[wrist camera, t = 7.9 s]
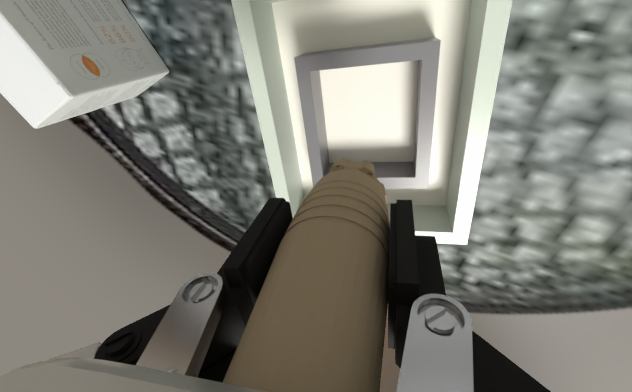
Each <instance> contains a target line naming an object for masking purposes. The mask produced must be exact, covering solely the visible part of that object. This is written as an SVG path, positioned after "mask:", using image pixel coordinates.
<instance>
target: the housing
mask: <svg viewBox="0 0 632 392" xmlns="http://www.w3.org/2000/svg"><path fill="white" fill-rule="evenodd" d="M231 1H232V6H233V10H234V14H235V19H236V23H237V28H238V32H239V36H240V41H241V45H242V50H243V54H244V58H245V63H246V67H247V72H248V76H249V80H250V85H251V89H252V94H253V98H254V102H255V107H256V111H257V115H258V120H259V124H260V129H261V133H262V137H263V142H264V146H265V151H266V155H267V159H268V164H269V168H270V173H271V177H272V181H273V186H274V190H275V195H276V198H284V199H285V200H286V201H288V202H289V203H290V206H291V211H292V216H293V217H294V216H295V214H296V212H297V210H298V209H299V207H300V206H301V204H302V202H303V201H304V199H305V198H306V196H307V195H308V194H309V192H310V191H311V190H312V188H313V187H314V186H315V185H316V184H317V182H318V181H319V180H320V179H321V178H322V177H324V176H325V175H327V174H328V173H329V171H330V168H331V167H332V165H333V164H334V162H335V161H336V160H339V159H342V158H345V159H347V160H348V161H352V162H363V161H368V162H370V163H372V164H373V165H374V172H375V175H376V177H377V179H378V180H379V182H380V183H382V184H383V185H384V187H385V190H386V197H387V202H386V203H387V207H388V214H389V224H390V203H396V200H412V206H413V217H414V228H415V235H417V236H435V239H436V243H442V244H461V245H467V242H468V237H469V231H470V226H471V221H472V215H473V210H474V204H475V199H476V194H477V188H478V183H479V178H480V172H481V167H482V161H483V156H484V151H485V145H486V140H487V134H488V129H489V124H490V118H491V113H492V108H493V102H494V97H495V91H496V86H497V81H498V75H499V70H500V65H501V59H502V54H503V48H504V43H505V38H506V32H507V27H508V21H509V16H510V11H511V5H512V0H231Z"/></svg>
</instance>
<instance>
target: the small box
mask: <svg viewBox="0 0 632 392" xmlns="http://www.w3.org/2000/svg"><path fill="white" fill-rule="evenodd" d="M168 73H169V69H168V68H167V66H166V65H165V64H164V62H163V61H162V59H161V58H160V56H159V55H158V53H157V52H156V50H155V49H154V48H153V46H152V45H151V43H150V42H149V40H148V39H147V37H146V36H145V34H144V33H143V31H142V30H141V28H140V27H139V25H138V24H137V23H136V21H135V20H134V18H133V17H132V15H131V14H130V12H129V11H128V9H127V8H126V7H125V5H124V4H123V2H122V1H121V0H0V93H1V94H2V95H3V96H4V97H5V98H6V99H7V100H8V101H9V102H10V104H11V105H12V106H13V107H14V108H15V109H16V110H17V111H18V112H19V113H20V114H21V115H22V116H23V117H24V118H25V119H26V120H27V121H28V123H29V124H30V125H31V126H32V127H33V128H41V127H44V126H47V125H50V124H53V123H56V122H59V121H62V120H65V119H69V118H72V117H75V116H78V115H81V114H84V113H88V112H91V111H94V110H97V109H99V108H103V107H106V106H109V105H112V104H115V103H118V102H121V101H124V100H127V99H130V98H133V97H136V96H138V95H139V94H140V93H142V92H143V91H145V90H146V89H147V88H149V87H150V86H151V85H153V84H154V83H156V82H157V81H158V80H160V79H161V78H162V77H164V76H165V75H166V74H168Z"/></svg>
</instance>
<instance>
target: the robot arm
mask: <svg viewBox="0 0 632 392" xmlns="http://www.w3.org/2000/svg"><path fill="white" fill-rule="evenodd" d="M292 219H293V216H292V211H291V206H290V203H289V202H288V201H286V200H285V199H284V198H270V199H269V200H268V201H267V203H266V204H265V206H264V207H263V208H262V210H261V211H260V213H259V214H258V216H257V217H256V219H255V220H254V221H253V223H252V224H251V226H250V227H249V229H248V230H247V231H246V232H245V234H244V235H243V237H242V238H241V239H240V241H239V242H238V244H237V245H236V247H235V248H234V250H233V251H232V252H231V254H230V255H229V257H228V258H227V260H226V261H225V263H224V264H223V265H222V267H221V268H220V270H219V271H218V273H217V274H216V273H203V274H200V275H197V276H195V277H193V278H191V279H190V280H188V281H187V282H186V283H185V284H184V285H183V286H182V287H181V289H180V290H179V291H178V293H177V295H176V297H175V298H174V300H173V302H172V303H171V305H169V306H167V307H164V308H163V309H160V310H159V311H156V312H154V313H152V314H150V315H148V316H146V317H144V318H142V319H140V320H138V321H136V322H134V323H132V324H129V325H127V326H125V327H124V328H121V329H120V330H118V331H116V332H114V333H113V334H112V335H111V336H109V337H108V338H107V339H106V340H105V341H104V342H103V343H102V344H101V343H100V342H98V343H95V344H92V345H89V346H86V347H83V348H80V349H77V350H75V351H72V352H69V353H66V354H63V355H60V356H57V357H55V358H52V359H49V360H45V361H41V362H37V363H32V364H28V365H24V366H21V367H18V368H15V369H12V370H9V371H7V372H4V373H2V374H0V392H265V391H261V390H256V389H251V388H246V387H241V386H236V385H231V384H226V383H222V382H223V380H224V378H225V375H226V373H227V370H228V368H229V366H230V363H231V361H232V359H233V356H234V354H235V351H236V349H237V347H238V344H239V342H240V340H241V337H242V335H243V332H244V330H245V327H246V325H247V323H248V320H249V318H250V315H251V313H252V310H253V308H254V306H255V303H256V301H257V298H258V296H259V293H260V291H261V288H262V286H263V284H264V281H265V279H266V276H267V274H268V271H269V269H270V266H271V264H272V262H273V259H274V257H275V254H276V252H277V249H278V247H279V245H280V243H281V240H282V239H283V237H284V235H285V233H286V231H287V229H288V227H289V225H290V223H291V221H292ZM388 348H393V349H395V360H396V364H397V365H398V366H399V368H400V369H401V370H400V375H399V381H398V387H397V392H550V391H549V390H548V389H546V388H545V387H544V386H542V385H541V384H540V383H539V382H537V381H536V380H535V379H534V378H532V377H531V376H530V375H529V374H527V373H526V372H525V371H523V370H522V369H521V368H519V367H518V366H517V365H516V364H514V363H513V362H512V361H511V360H509V359H508V358H507V357H505V356H504V355H503V354H501V353H500V352H499V351H498V350H497V349H495V348H494V347H493V346H491V345H490V344H489V343H488V342H486V341H485V340H484V339H482V338H481V337H480V336H479V335H477V334H476V333H475V332H473V331H472V322H471V317H470V315H469V313H468V311H467V310H466V308H465V307H464V306H463V305H461V304H460V303H459V302H458V301H456V300H455V299H453V298H451V297H448V296H446V293H445V287H444V282H443V276H442V271H441V265H440V260H439V255H438V249H437V244H436V239H435V236H417V235H415V228H414V217H413V206H412V200H396V203H390V242H389V286H388Z"/></svg>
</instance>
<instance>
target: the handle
mask: <svg viewBox="0 0 632 392" xmlns="http://www.w3.org/2000/svg"><path fill="white" fill-rule="evenodd" d="M386 202H387V197H386V190H385V187H384V185H383V184H382V183H380V182H379V180H378V179H377V177H376V175H375V172H374V165H373V164H372V163H370V162H368V161H363V162H352V161H348V160H347V159H345V158H342V159H339V160H336V161H335V162H334V164H333V165H332V167H331V168H330V171H329V173H328V174H327V175H325V176H324V177H322V178H321V179H320V180H319V181H318V182H317V184H316V185H315V186H314V187H313V188H312V190H311V191H310V192H309V194H308V195H307V196H306V198H305V199H304V201H303V202H302V204H301V206H300V207H299V209H298V210H297V212H296V214H295V216H294V217H293V219H292V221H291V223H290V225H289V227H288V229H287V231H286V233H285V235H284V237H283V239H282V240H281V243H280V245H279V247H278V249H277V252H276V254H275V257H274V259H273V262H272V264H271V266H270V269H269V271H268V274H267V276H266V279H265V281H264V284H263V286H262V288H261V291H260V293H259V296H258V298H257V301H256V303H255V306H254V308H253V310H252V313H251V315H250V318H249V320H248V323H247V325H246V327H245V330H244V332H243V335H242V337H241V340H240V342H239V344H238V347H237V349H236V351H235V354H234V356H233V359H232V361H231V363H230V366H229V368H228V370H227V373H226V375H225V378H224V380H223V382H222V383H226V384H231V385H236V386H241V387H246V388H251V389H256V390H261V391H265V392H379V389H380V378H381V367H382V358H383V347H384V336H385V327H386V316H387V306H388V286H389V242H390V224H389V214H388V207H387V203H386Z"/></svg>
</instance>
